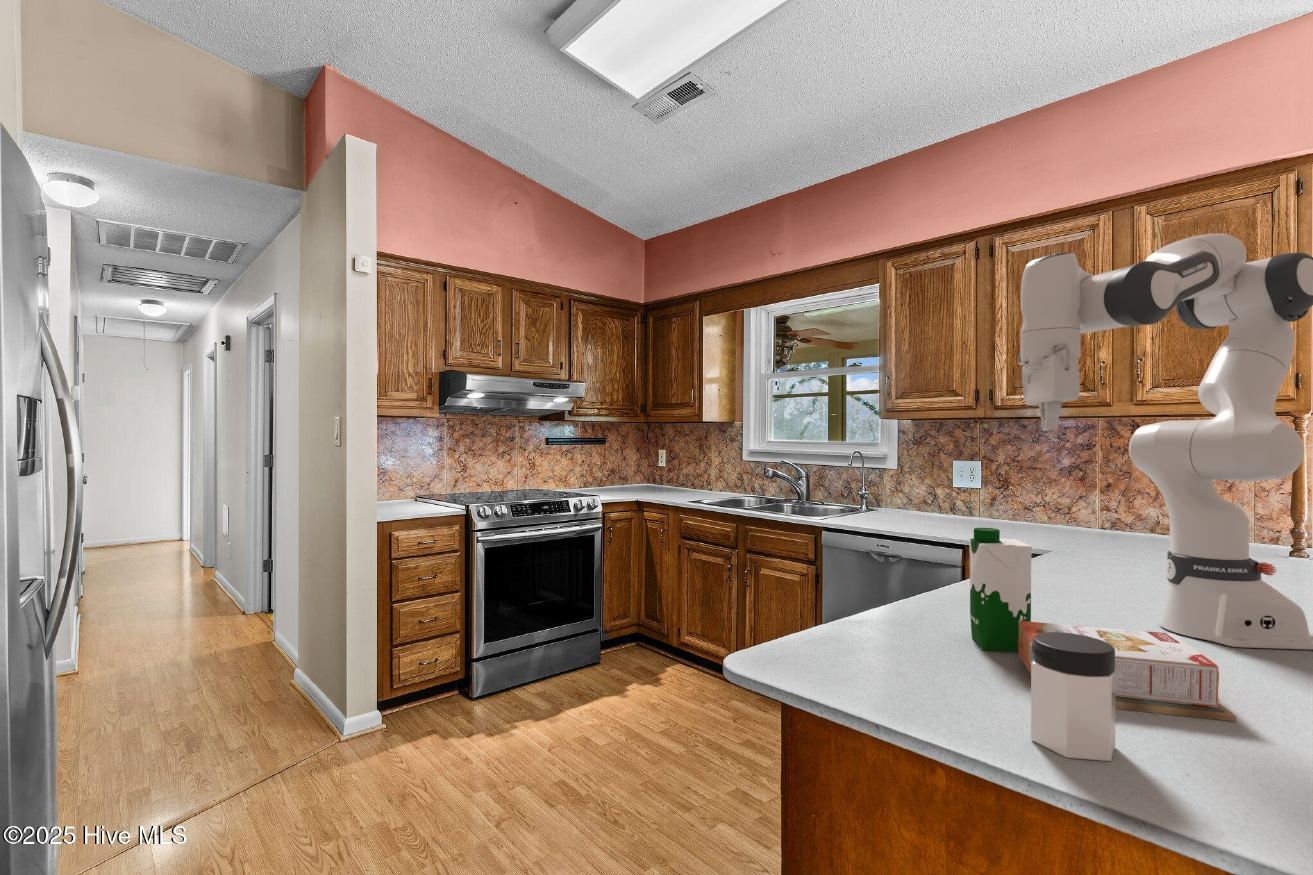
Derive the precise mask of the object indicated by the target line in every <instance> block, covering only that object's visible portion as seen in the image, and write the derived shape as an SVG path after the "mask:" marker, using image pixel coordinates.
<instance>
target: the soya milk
mask: <svg viewBox="0 0 1313 875" xmlns="http://www.w3.org/2000/svg"><path fill="white" fill-rule="evenodd" d="M1000 534H1001V533H1000V529H998V528H993V527H974V528H973V537H969V538H968V540H969V544H968V545H969V612H970V613H969V615H970V617H969V619H970V629H971V630H970V632H971V639H973V640H974V642H975V643H976V644H977V645H978V646H979V647H980V648H981V650H982V651H987V652H988V651H989V652H1002V653H1003V652H1005V653H1018V654H1019V621H1027V622H1032V551H1033V550H1032V549H1033V546H1032V545H1030V544H1027V543H1025V542H1023V541H1021V540H1018V539H1015V538H1002V537H1000V536H1001V535H1000Z"/></svg>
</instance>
